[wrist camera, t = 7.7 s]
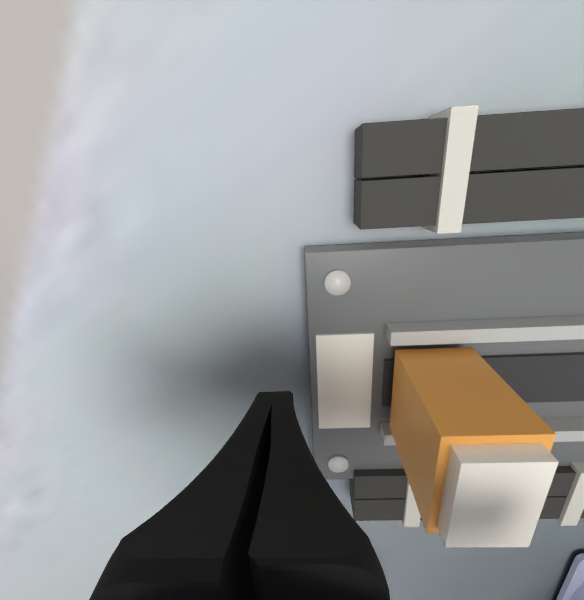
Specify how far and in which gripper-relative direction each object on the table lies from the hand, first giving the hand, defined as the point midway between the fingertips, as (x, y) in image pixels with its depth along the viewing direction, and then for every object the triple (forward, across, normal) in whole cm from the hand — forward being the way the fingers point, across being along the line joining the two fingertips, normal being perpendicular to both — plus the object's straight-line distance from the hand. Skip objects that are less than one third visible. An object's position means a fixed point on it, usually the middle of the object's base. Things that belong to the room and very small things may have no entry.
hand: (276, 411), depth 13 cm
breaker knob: (+1, -6, 0) cm, 6 cm away
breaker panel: (+3, -10, 0) cm, 11 cm away
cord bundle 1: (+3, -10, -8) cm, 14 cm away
